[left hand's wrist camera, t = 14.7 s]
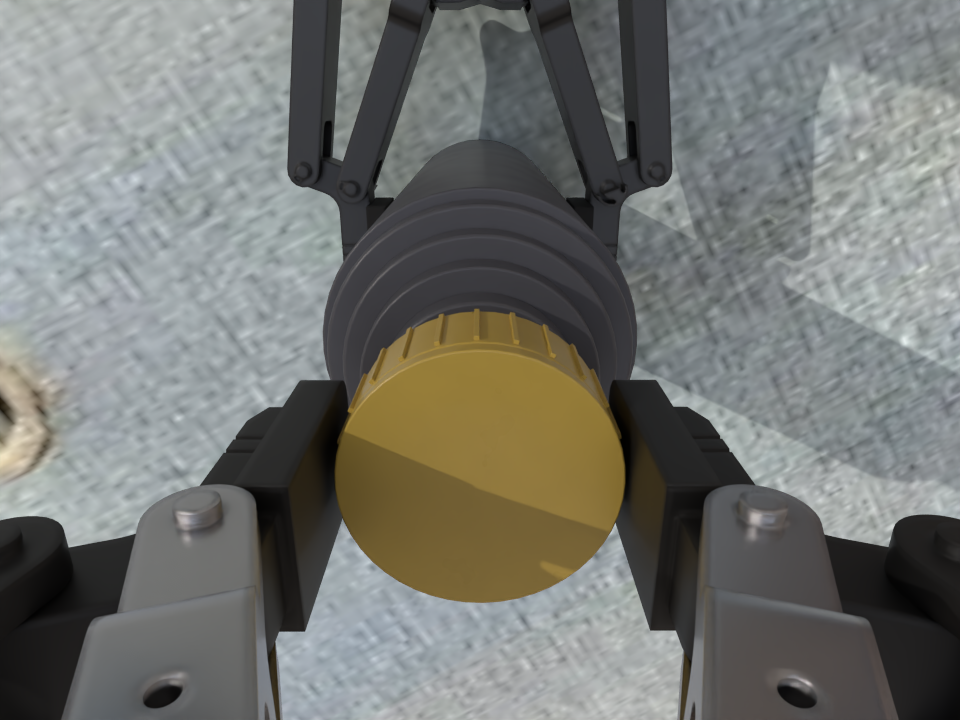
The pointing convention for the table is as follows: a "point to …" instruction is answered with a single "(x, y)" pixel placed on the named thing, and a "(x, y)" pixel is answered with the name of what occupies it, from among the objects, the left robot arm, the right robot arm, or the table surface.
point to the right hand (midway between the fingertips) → (480, 351)
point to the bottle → (479, 265)
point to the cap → (480, 459)
